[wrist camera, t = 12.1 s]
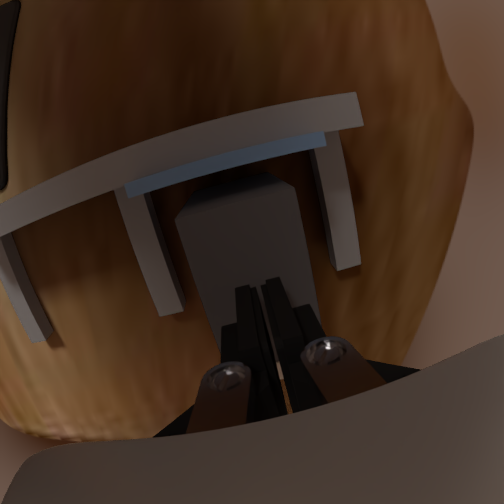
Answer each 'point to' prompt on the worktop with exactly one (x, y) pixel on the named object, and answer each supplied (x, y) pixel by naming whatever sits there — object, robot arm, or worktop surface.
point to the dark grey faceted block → (246, 246)
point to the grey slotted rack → (181, 169)
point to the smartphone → (6, 75)
